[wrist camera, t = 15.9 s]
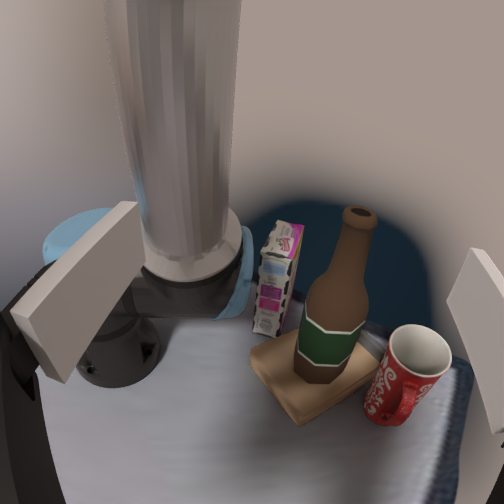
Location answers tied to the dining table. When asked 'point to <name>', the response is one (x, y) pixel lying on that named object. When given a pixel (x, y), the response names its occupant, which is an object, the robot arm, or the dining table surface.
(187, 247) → the robot arm
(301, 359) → the beer bottle
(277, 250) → the candy bar box
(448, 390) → the dining table surface
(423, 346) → the mug
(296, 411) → the shelf step
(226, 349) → the dining table surface
